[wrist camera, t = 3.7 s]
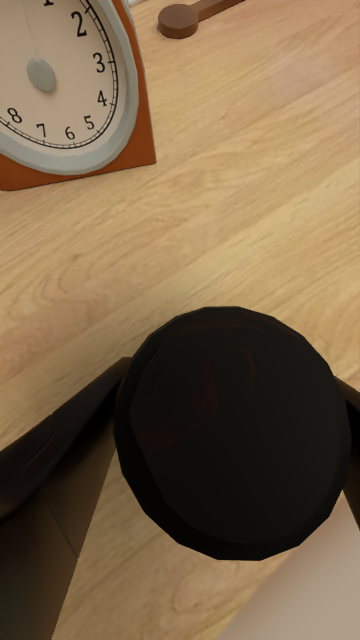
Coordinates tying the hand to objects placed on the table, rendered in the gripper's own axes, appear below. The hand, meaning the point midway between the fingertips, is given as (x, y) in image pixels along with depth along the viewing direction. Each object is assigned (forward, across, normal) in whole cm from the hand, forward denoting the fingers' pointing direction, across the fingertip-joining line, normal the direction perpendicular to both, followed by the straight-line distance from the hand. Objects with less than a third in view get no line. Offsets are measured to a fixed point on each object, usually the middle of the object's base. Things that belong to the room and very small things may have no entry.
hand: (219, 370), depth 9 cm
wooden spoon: (+34, 0, -25) cm, 42 cm away
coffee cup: (+4, 0, +6) cm, 7 cm away
